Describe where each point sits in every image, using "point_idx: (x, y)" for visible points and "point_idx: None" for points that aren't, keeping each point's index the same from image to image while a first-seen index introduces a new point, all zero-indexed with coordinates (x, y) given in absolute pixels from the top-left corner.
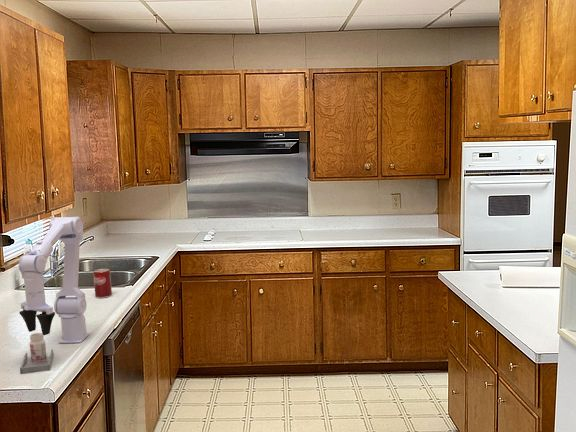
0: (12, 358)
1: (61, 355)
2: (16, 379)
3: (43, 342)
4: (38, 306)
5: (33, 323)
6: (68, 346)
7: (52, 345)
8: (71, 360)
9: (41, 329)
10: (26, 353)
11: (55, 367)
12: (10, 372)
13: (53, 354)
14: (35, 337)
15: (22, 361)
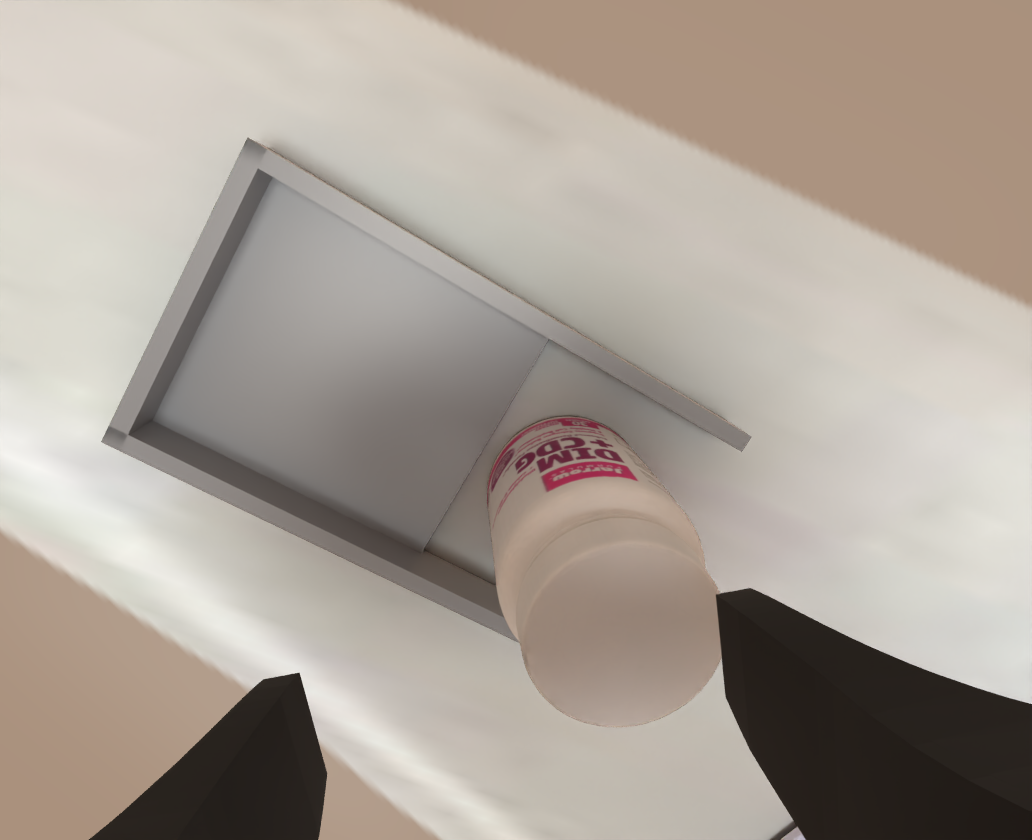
0: (848, 318)
1: (489, 682)
2: (116, 27)
3: (509, 627)
4: None
5: (794, 775)
6: (681, 820)
7: None
8: None
9: (248, 734)
10: (718, 431)
11: (176, 499)
12: (420, 92)
13: None
14: (541, 581)
15: (483, 277)
